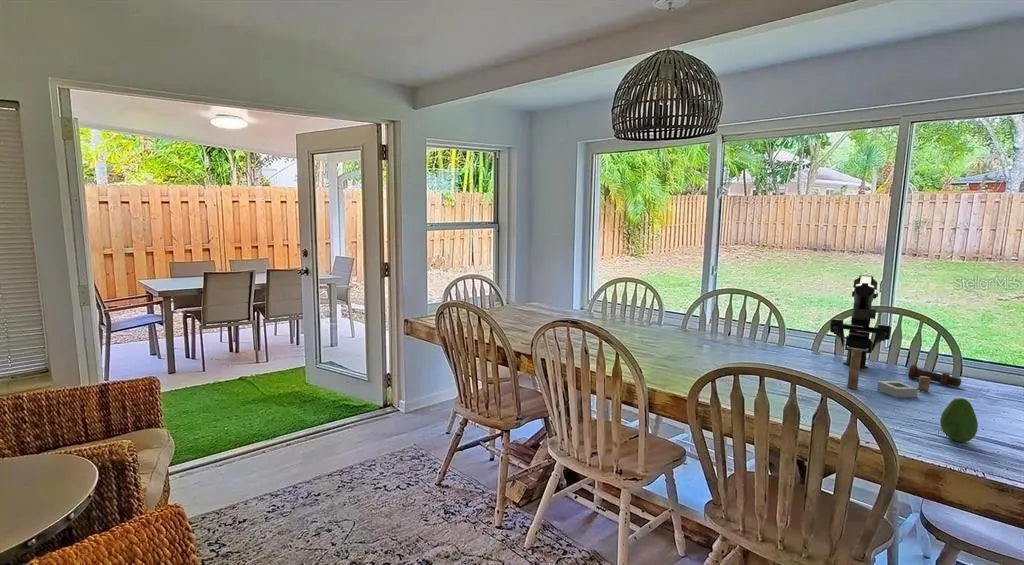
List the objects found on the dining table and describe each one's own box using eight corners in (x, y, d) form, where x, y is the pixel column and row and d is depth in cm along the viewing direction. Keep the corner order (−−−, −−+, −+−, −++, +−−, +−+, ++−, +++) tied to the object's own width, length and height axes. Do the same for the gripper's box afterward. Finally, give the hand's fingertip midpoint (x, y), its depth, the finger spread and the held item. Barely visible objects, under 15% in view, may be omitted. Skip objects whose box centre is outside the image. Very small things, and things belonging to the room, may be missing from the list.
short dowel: (915, 389, 194) (917, 375, 193) (923, 389, 194) (925, 375, 193) (922, 392, 191) (924, 378, 190) (930, 392, 191) (932, 378, 190)
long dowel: (845, 386, 195) (849, 348, 193) (852, 386, 195) (857, 348, 193) (851, 389, 192) (856, 350, 190) (859, 389, 192) (864, 350, 190)
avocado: (957, 434, 155) (964, 394, 153) (982, 447, 147) (989, 404, 145) (930, 434, 154) (936, 393, 153) (953, 446, 147) (960, 403, 145)
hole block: (877, 389, 192) (878, 381, 192) (897, 389, 193) (898, 381, 193) (895, 397, 184) (896, 389, 184) (917, 397, 185) (918, 388, 185)
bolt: (957, 393, 197) (908, 381, 208) (961, 384, 199) (912, 372, 210) (958, 381, 194) (908, 370, 205) (962, 372, 196) (912, 361, 207)
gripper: (833, 297, 205) (828, 331, 197) (894, 303, 195) (891, 339, 187) (832, 314, 212) (827, 348, 205) (890, 321, 202) (887, 357, 195)
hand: (857, 347), depth 198 cm, fingers open, 9 cm apart
